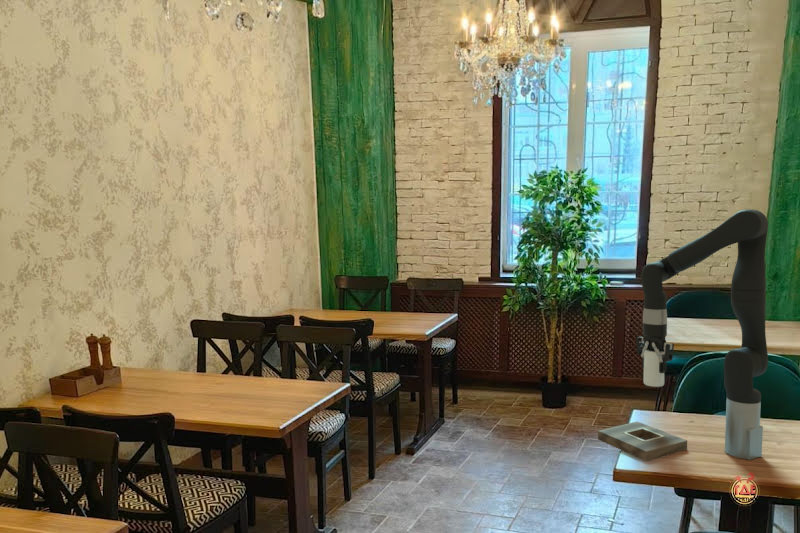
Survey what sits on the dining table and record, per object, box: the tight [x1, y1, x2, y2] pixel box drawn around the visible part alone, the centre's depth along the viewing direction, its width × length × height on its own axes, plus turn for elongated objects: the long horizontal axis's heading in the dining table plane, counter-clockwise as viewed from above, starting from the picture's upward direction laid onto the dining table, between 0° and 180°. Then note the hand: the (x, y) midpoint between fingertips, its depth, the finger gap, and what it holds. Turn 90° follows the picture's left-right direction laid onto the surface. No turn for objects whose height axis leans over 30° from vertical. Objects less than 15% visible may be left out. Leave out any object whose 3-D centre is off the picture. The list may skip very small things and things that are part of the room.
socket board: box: [597, 421, 688, 462], centre depth 201 cm, size 20×18×3 cm
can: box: [643, 349, 665, 388], centre depth 210 cm, size 6×6×12 cm
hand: (653, 370), depth 210 cm, fingers closed on can, 6 cm apart
